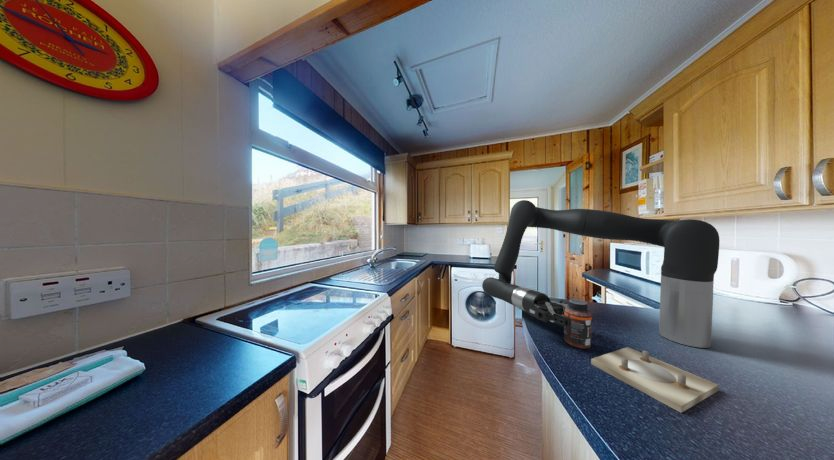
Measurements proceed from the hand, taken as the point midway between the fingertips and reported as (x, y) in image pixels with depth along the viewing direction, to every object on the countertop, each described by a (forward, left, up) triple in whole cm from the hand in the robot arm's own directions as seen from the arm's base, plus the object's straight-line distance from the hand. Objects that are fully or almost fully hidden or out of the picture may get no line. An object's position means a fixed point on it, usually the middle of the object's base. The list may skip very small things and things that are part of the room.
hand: (581, 320), depth 58 cm
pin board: (-1, +13, -7) cm, 15 cm away
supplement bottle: (0, -1, -7) cm, 7 cm away
